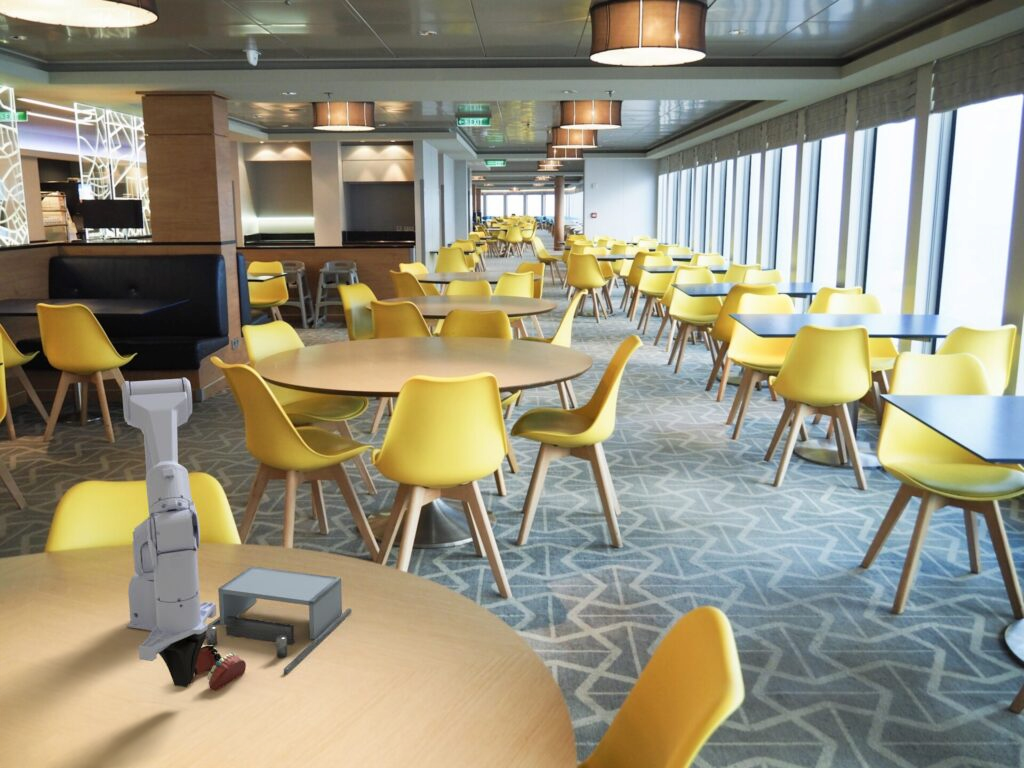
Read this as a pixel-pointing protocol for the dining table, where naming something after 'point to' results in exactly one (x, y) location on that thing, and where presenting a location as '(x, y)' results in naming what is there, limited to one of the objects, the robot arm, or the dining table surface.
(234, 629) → the pin seat
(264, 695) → the dining table surface
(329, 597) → the housing
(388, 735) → the dining table surface
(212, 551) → the dining table surface
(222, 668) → the dentures
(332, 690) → the dining table surface
